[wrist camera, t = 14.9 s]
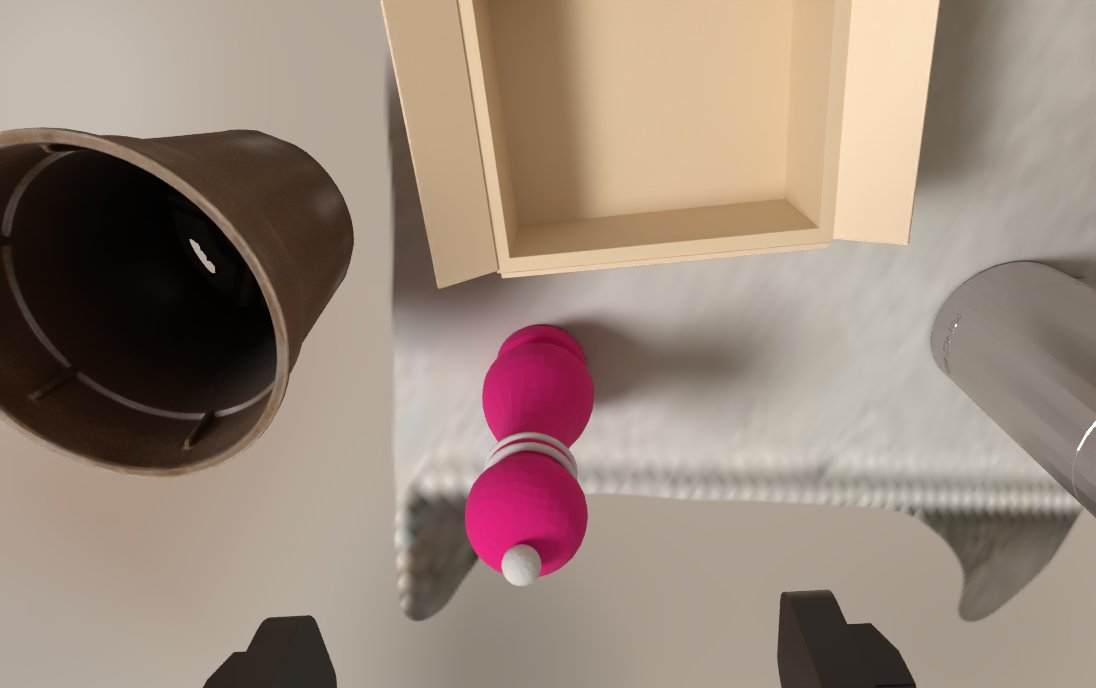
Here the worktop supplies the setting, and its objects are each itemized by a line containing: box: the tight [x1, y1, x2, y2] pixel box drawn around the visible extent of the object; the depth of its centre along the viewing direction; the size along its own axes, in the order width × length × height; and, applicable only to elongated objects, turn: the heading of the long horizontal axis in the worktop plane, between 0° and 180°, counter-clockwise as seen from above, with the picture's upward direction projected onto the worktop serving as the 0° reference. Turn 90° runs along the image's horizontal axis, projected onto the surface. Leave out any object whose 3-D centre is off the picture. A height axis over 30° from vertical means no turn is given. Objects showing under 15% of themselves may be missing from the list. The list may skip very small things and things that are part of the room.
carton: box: [380, 0, 941, 289], centre depth 34 cm, size 24×16×9 cm, turn 97°
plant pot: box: [0, 128, 354, 478], centre depth 35 cm, size 16×16×16 cm
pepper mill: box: [465, 325, 594, 586], centre depth 38 cm, size 7×7×20 cm
